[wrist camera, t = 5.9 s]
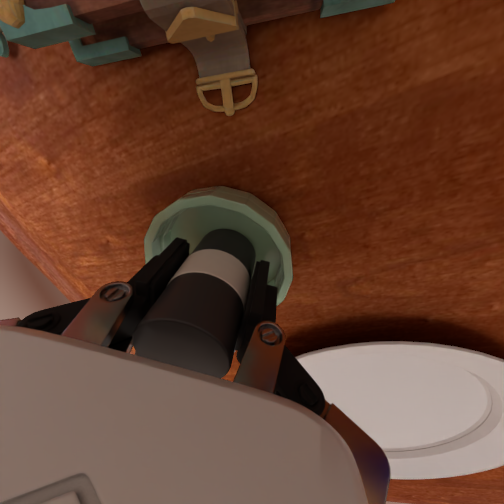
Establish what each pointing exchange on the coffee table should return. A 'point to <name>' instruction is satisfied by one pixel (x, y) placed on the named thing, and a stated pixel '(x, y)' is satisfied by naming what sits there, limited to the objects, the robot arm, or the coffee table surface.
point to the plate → (418, 403)
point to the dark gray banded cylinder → (201, 307)
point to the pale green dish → (226, 217)
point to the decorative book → (160, 32)
